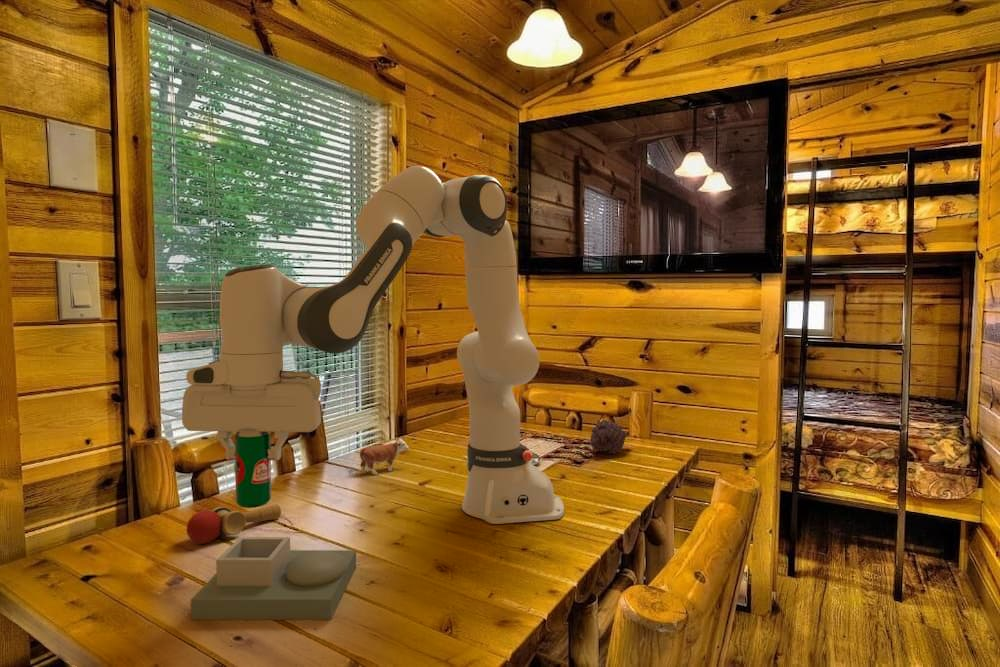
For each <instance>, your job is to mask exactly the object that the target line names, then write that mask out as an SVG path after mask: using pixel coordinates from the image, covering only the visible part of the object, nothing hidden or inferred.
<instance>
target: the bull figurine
mask: <svg viewBox="0 0 1000 667" xmlns="http://www.w3.org/2000/svg"><path fill="white" fill-rule="evenodd" d="M408 450H409V446H408V445H407V443H406V442H405V441H404V440H403V439H402V438H399V439H398V440H394V439H393V440H390V441H389V442H385V443H383V444H380V445H374V446H369V447H363V448H362V449H361V450H360V452H359V458H360V460H361V463H360V468H361V473H363V475H364V474H366V475H367V472H369V471H371V473H372V474H373V475H378V474H379V472H377V470H376V469H375V468H374V463H375V464H376V465H377V466H379V465H380V463H383V462H387V465H388V467H387V471H388V472H393V470H392V469H393V468H394V467H393V466H392V465H393V462H394V460H395V459H396V458H397V457H398V455H399V454H400V453H401V452H403V451H408Z"/></svg>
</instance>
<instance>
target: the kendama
mask: <svg viewBox="0 0 1000 667" xmlns="http://www.w3.org/2000/svg"><path fill="white" fill-rule="evenodd" d="M281 514H282V509H281V506H280V505H279V504H273V505H270V506H266V507H262V508H257V509H254V510H253V509H252V510H249V511H247V512H241V511H239V510H230V509H229V508H228V507H225V506H218V507H217V506H216V507H215V508H213V509H212V510H210V509H208V510H207V509H206V510H201V511H198V512H196V513H195V514H193V515H192V516H191V517H190V519H189V520H188V521H187V525H186V533H187V537H188V538H189V539H190V541H191V542H192V543H194V544H196V545H205V544H209V543H211V542H213V541H215V540H216V539H217V538H219V537H220V536H221V535H222V534H225V535H228V536H235V535H238V534H240V533H241V532H242V531H243V530H245V527H246V523H247V524H248V523H255V522H263V521H275V520H279V519H280V517H281Z"/></svg>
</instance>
